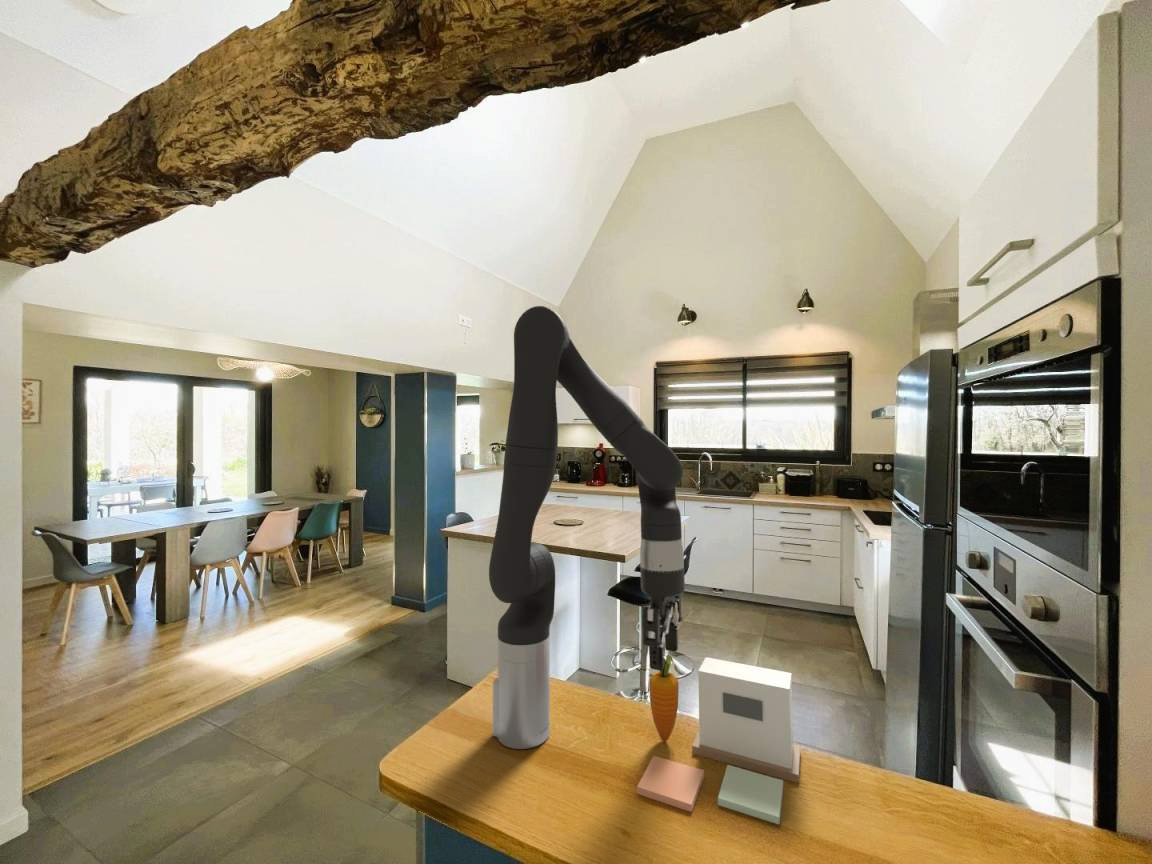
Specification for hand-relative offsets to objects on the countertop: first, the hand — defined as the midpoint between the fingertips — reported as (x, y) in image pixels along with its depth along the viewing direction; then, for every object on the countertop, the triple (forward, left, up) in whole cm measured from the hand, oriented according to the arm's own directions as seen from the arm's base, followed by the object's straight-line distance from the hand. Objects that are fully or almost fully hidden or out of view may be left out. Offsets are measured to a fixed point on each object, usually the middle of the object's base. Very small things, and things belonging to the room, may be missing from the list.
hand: (664, 659), depth 82 cm
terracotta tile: (+4, -10, -14) cm, 18 cm away
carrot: (0, 0, -14) cm, 14 cm away
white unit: (+13, +3, -14) cm, 19 cm away
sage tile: (+15, -7, -14) cm, 21 cm away
